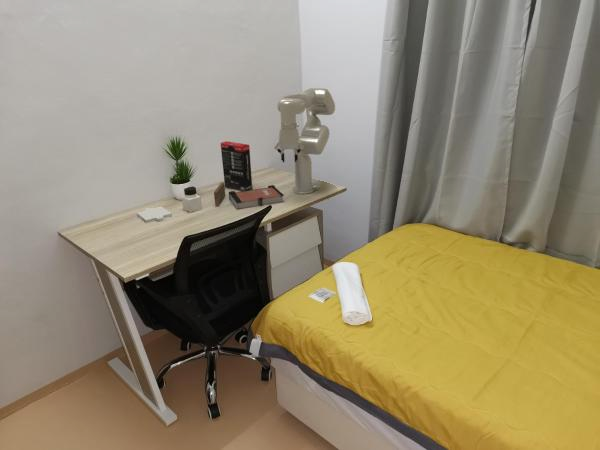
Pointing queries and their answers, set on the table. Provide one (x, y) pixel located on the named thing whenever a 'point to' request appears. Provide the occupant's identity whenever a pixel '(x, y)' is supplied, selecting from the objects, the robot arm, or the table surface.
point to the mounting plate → (154, 214)
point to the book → (256, 197)
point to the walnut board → (219, 194)
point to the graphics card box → (236, 165)
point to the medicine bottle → (191, 200)
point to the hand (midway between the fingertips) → (289, 161)
